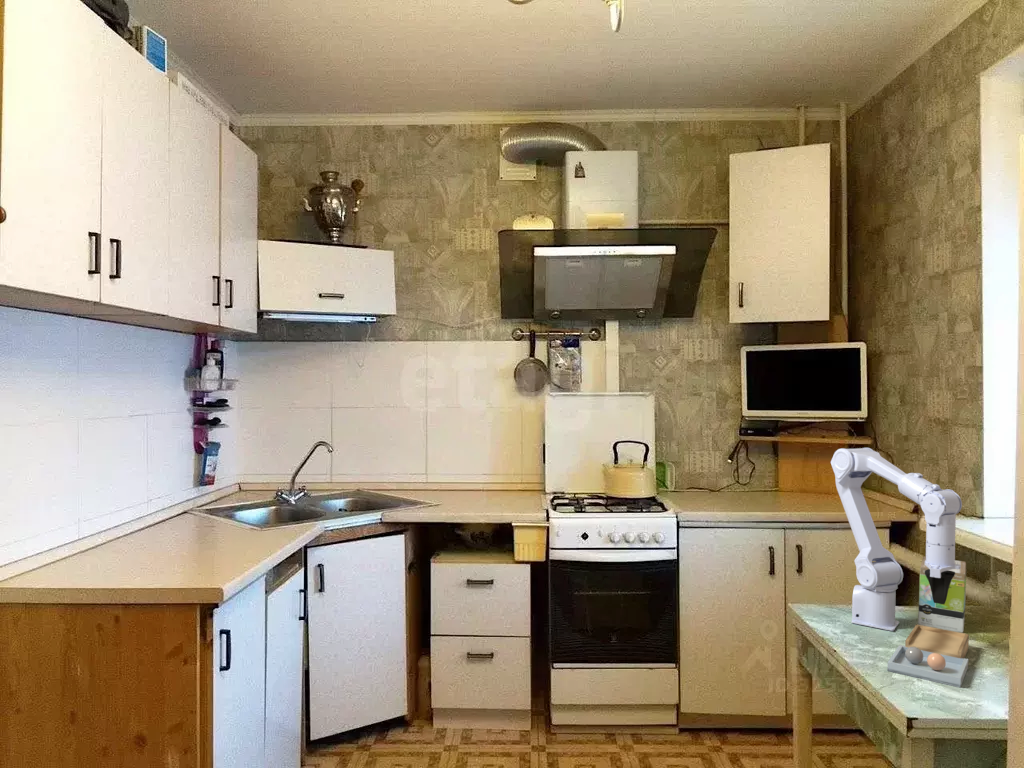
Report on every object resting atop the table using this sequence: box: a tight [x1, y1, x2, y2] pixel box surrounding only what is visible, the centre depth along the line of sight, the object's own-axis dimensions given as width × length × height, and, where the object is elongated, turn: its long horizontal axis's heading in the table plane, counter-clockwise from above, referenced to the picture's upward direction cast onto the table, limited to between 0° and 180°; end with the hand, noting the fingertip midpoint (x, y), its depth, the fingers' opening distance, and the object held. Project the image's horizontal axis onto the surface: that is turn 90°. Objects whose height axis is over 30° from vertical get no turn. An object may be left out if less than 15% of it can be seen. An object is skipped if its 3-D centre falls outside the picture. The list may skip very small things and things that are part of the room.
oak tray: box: [904, 623, 970, 659], centre depth 163 cm, size 10×14×3 cm
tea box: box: [917, 555, 967, 633], centre depth 185 cm, size 15×10×15 cm
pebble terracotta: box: [927, 653, 946, 671], centre depth 152 cm, size 3×3×3 cm
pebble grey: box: [905, 647, 923, 664], centre depth 155 cm, size 3×3×3 cm
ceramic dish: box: [887, 644, 969, 688], centre depth 153 cm, size 13×13×2 cm
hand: (939, 603), depth 167 cm, fingers closed
